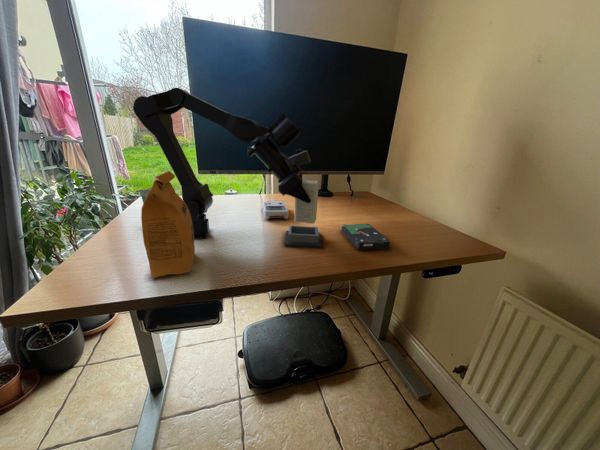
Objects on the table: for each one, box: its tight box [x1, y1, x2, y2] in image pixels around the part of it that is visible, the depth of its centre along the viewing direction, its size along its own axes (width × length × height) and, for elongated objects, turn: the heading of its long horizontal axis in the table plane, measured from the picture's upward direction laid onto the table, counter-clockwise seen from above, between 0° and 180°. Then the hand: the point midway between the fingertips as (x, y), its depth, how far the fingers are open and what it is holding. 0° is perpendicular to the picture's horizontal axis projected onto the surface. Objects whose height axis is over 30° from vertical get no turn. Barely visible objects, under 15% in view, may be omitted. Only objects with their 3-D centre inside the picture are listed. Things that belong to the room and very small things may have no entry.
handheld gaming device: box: [262, 200, 290, 220], centre depth 97 cm, size 9×15×4 cm, turn 12°
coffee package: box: [140, 170, 196, 279], centre depth 55 cm, size 10×12×22 cm
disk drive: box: [341, 223, 391, 251], centre depth 78 cm, size 10×3×15 cm
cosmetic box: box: [293, 179, 320, 225], centre depth 71 cm, size 6×4×12 cm
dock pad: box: [284, 225, 323, 249], centre depth 75 cm, size 10×11×3 cm
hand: (309, 199), depth 71 cm, fingers closed on cosmetic box, 5 cm apart
